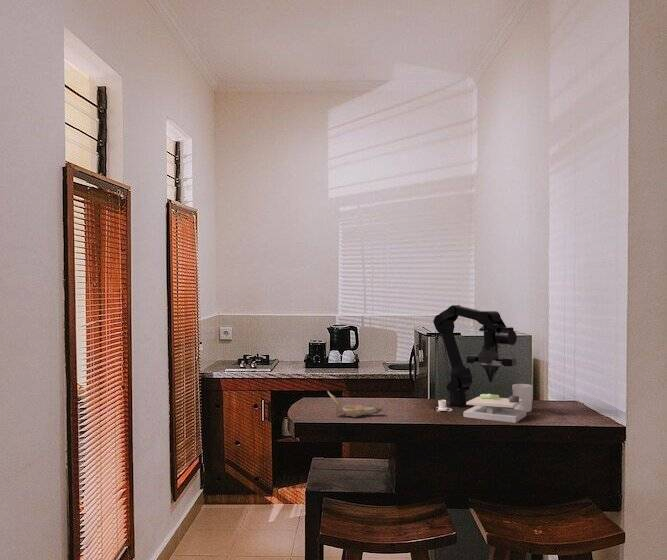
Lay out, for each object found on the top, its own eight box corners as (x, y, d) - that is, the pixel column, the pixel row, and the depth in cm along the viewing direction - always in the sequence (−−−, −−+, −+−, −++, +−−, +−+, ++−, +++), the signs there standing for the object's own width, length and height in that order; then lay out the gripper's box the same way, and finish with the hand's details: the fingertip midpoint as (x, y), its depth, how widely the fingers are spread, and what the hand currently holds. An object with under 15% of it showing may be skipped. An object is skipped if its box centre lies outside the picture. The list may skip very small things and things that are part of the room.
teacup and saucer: (446, 413, 244) (445, 403, 244) (428, 411, 249) (428, 401, 249) (455, 410, 251) (455, 400, 251) (438, 407, 256) (438, 398, 256)
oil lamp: (327, 414, 245) (327, 389, 245) (381, 413, 245) (381, 388, 245) (328, 419, 236) (327, 392, 236) (383, 418, 237) (383, 392, 237)
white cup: (510, 411, 245) (510, 386, 245) (514, 407, 252) (514, 383, 252) (531, 413, 242) (530, 387, 242) (534, 409, 248) (534, 384, 249)
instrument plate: (466, 404, 236) (465, 396, 236) (478, 399, 247) (477, 391, 247) (513, 407, 226) (513, 399, 226) (524, 401, 237) (523, 393, 237)
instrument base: (463, 416, 236) (463, 405, 236) (476, 410, 248) (476, 399, 248) (515, 422, 225) (515, 410, 225) (526, 415, 237) (526, 403, 237)
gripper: (460, 343, 244) (460, 382, 244) (507, 346, 233) (507, 387, 233) (471, 340, 253) (471, 378, 253) (516, 343, 242) (516, 383, 242)
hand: (491, 382), depth 245 cm, fingers closed
